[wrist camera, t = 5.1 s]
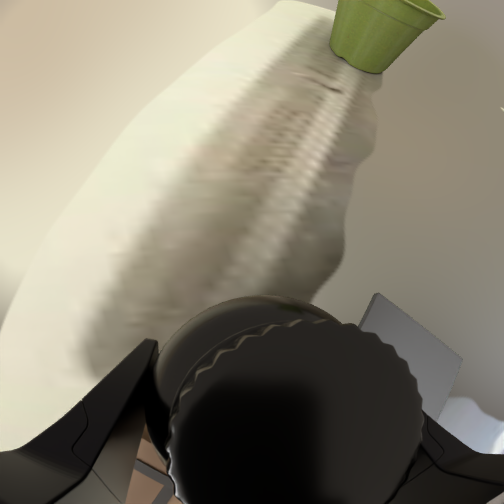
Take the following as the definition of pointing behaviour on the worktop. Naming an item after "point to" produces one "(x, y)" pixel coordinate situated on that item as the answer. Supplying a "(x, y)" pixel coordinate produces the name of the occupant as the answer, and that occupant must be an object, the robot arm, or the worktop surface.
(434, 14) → the plant pot
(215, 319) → the supplement bottle
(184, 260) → the worktop surface
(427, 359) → the slate mat
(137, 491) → the wooden letter block
